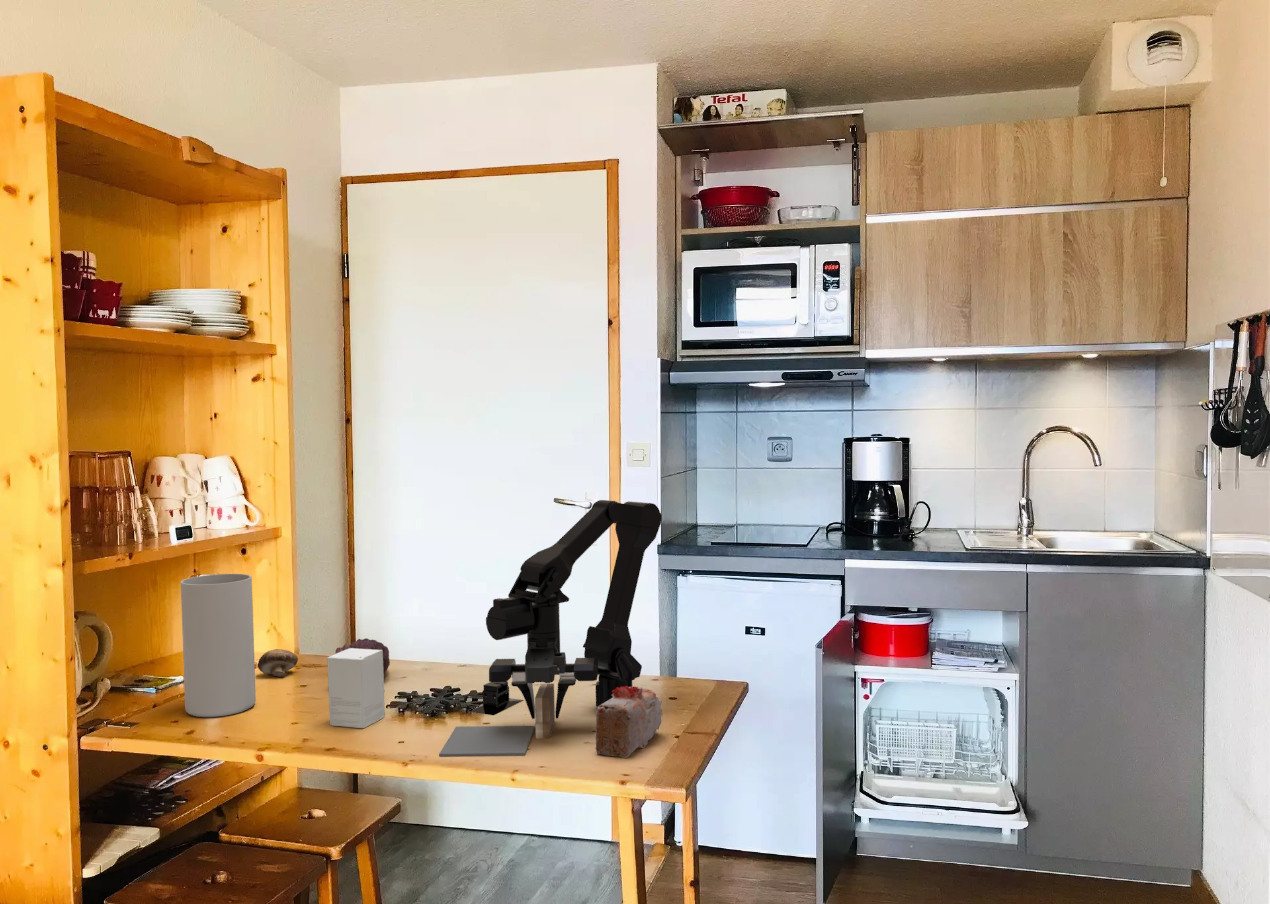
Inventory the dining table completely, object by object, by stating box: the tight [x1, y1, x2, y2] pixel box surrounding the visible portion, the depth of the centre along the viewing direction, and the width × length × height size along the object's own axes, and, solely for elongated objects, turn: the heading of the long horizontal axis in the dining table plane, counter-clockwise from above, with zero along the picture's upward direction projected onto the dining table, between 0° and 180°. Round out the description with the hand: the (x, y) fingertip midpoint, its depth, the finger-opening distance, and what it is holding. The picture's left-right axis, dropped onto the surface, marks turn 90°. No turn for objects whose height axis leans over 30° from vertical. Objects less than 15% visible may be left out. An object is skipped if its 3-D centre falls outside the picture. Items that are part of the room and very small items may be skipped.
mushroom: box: [257, 648, 299, 678], centre depth 214 cm, size 8×8×6 cm
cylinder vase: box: [180, 573, 257, 718], centre depth 190 cm, size 12×12×25 cm
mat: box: [438, 725, 536, 757], centre depth 168 cm, size 14×14×1 cm
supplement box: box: [326, 648, 386, 729], centre depth 181 cm, size 7×7×13 cm
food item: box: [595, 686, 663, 759], centre depth 166 cm, size 14×8×10 cm, turn 159°
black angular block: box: [466, 681, 525, 716], centre depth 189 cm, size 13×8×5 cm, turn 153°
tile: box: [534, 683, 556, 739], centre depth 174 cm, size 2×9×7 cm, turn 179°
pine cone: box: [335, 638, 391, 675], centre depth 208 cm, size 18×10×10 cm
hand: (545, 718), depth 174 cm, fingers open, 4 cm apart
